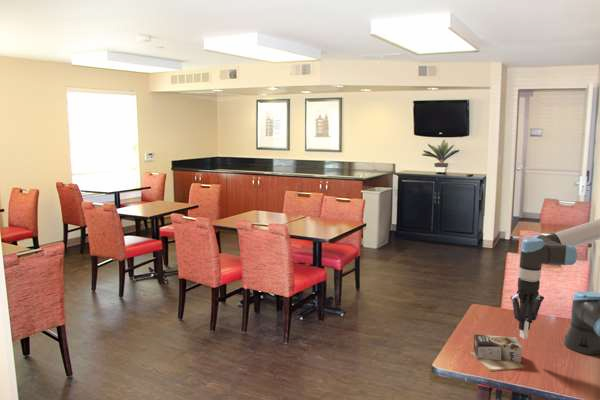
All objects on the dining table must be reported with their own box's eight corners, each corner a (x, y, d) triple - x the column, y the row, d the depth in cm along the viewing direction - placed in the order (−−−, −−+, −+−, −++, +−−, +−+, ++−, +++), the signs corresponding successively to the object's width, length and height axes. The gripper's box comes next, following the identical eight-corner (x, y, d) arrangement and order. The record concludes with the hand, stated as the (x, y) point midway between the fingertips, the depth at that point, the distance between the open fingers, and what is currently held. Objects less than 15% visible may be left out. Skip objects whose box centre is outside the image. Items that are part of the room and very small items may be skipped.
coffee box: (522, 346, 191) (477, 343, 193) (520, 362, 192) (476, 359, 194) (516, 336, 200) (473, 333, 202) (514, 352, 201) (472, 348, 203)
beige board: (502, 351, 202) (502, 349, 202) (523, 367, 189) (523, 366, 189) (470, 353, 200) (470, 352, 200) (489, 370, 186) (489, 369, 186)
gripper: (538, 275, 195) (532, 332, 199) (507, 276, 193) (502, 334, 196) (551, 281, 188) (544, 340, 191) (519, 282, 185) (513, 342, 189)
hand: (523, 337), depth 194 cm, fingers closed
